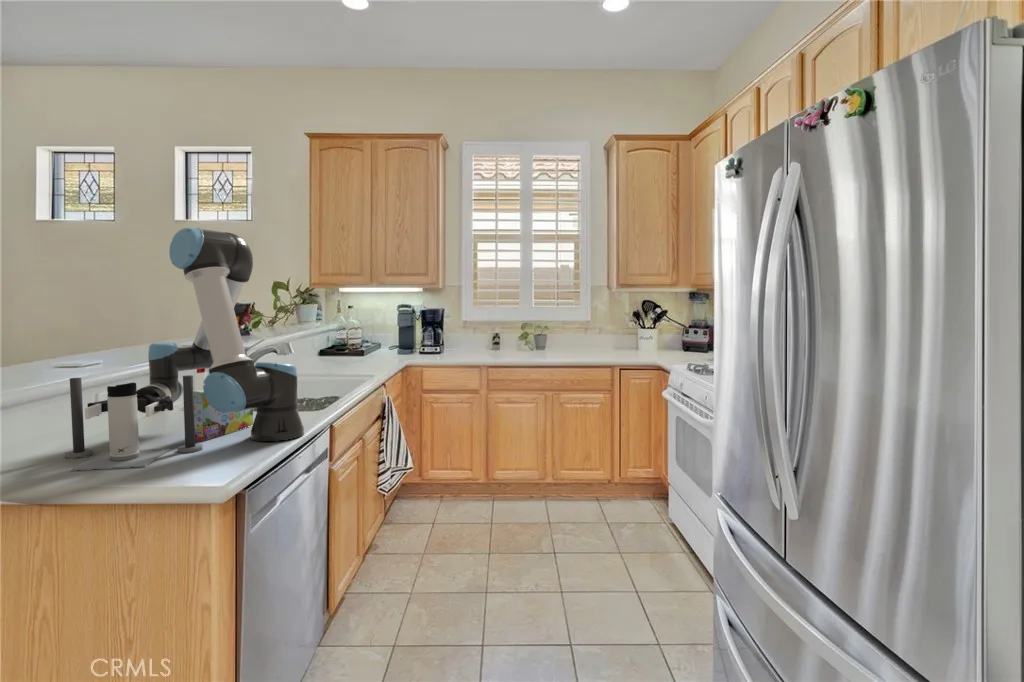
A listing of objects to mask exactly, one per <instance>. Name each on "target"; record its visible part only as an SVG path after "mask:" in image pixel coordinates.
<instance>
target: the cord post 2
mask: <svg viewBox="0 0 1024 682" xmlns="http://www.w3.org/2000/svg"><path fill="white" fill-rule="evenodd" d="M182 387H183V393H182V395H183V421H184V422H183V424H184V444H183V445H180V446H178V447H177V453H179V452H182V453H181V454H191V453H190V452H192V453H196V452H200V451H202V450H203V449H204V448H203V444H201V443H196V440H195V426H194V396H193V391H194V376H193V375H192V374H191V375H190V374H189V375H183V376H182Z"/></svg>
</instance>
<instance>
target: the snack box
mask: <svg viewBox="0 0 1024 682" xmlns="http://www.w3.org/2000/svg"><path fill="white" fill-rule="evenodd" d="M193 396H194V426H195V442H196V441H199V442H206V441H209V440H211V439H215V438H219V437H222V436H225V434H226V435H229V434H232V433H235V432H234V431H236V432H238V431H237V430H239V431H241V430H240V429H242V430H244V429H243V428H245V427H248V426H251V425H253V423H254V408H250V409H246V410H241V411H238V412H229V413H222V412H219V411H217V410H216V409H214V408H213V407H212V406H211V405H210V404H209V403H208V401H207V400H206V397H205V395H204V390H203V388H201V389H200V388H199V389H194V390H193ZM231 432H232V433H231ZM228 433H229V434H228Z"/></svg>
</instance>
